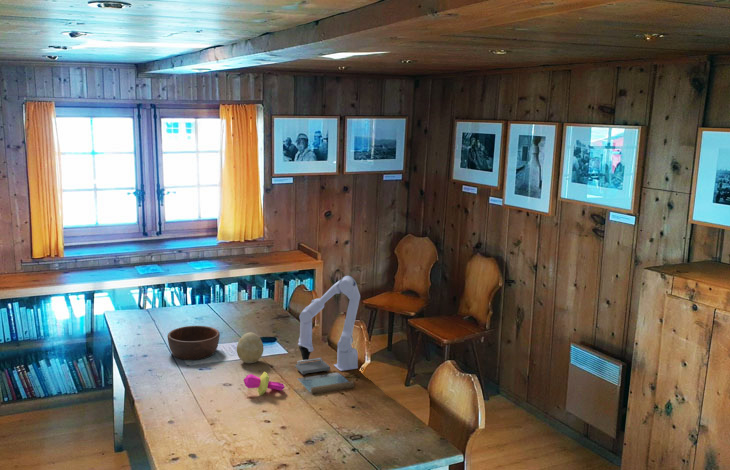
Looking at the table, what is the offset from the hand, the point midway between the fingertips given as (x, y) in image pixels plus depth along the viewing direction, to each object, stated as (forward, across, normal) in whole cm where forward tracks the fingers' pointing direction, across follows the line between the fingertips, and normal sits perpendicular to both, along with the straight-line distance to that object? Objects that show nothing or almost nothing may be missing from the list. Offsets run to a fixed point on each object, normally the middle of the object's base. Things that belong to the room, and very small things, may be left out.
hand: (305, 361), depth 327 cm
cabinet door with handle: (+2, +9, 0) cm, 10 cm away
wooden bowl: (+2, -34, -46) cm, 57 cm away
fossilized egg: (+2, -12, -24) cm, 27 cm away
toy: (+2, +25, -29) cm, 38 cm away
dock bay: (+2, +24, 0) cm, 24 cm away
